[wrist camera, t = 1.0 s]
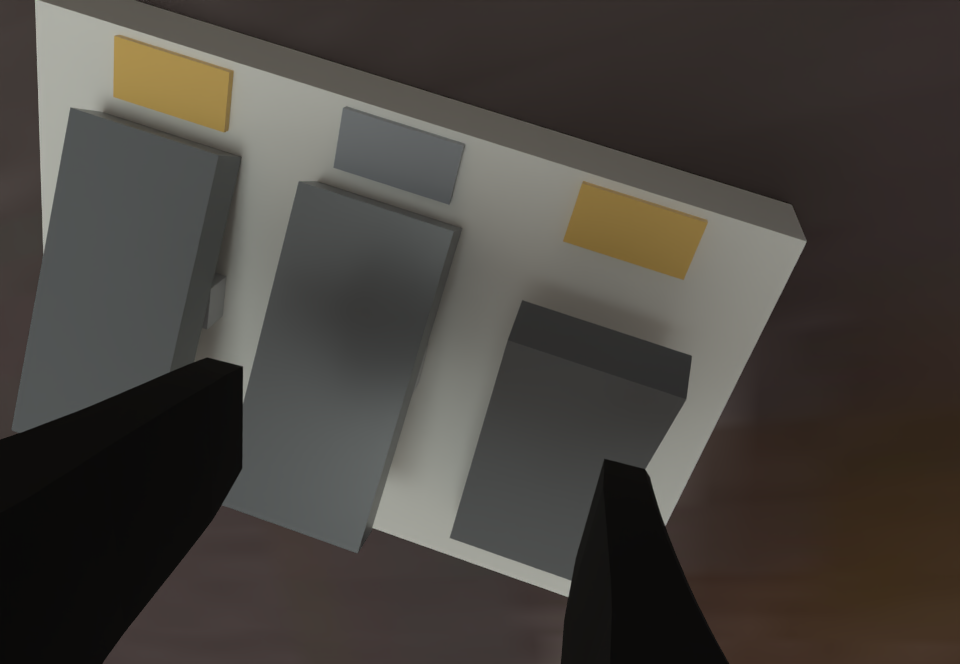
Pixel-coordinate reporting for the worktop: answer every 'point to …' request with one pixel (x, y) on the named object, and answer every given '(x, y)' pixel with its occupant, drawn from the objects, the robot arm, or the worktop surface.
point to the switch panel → (445, 197)
